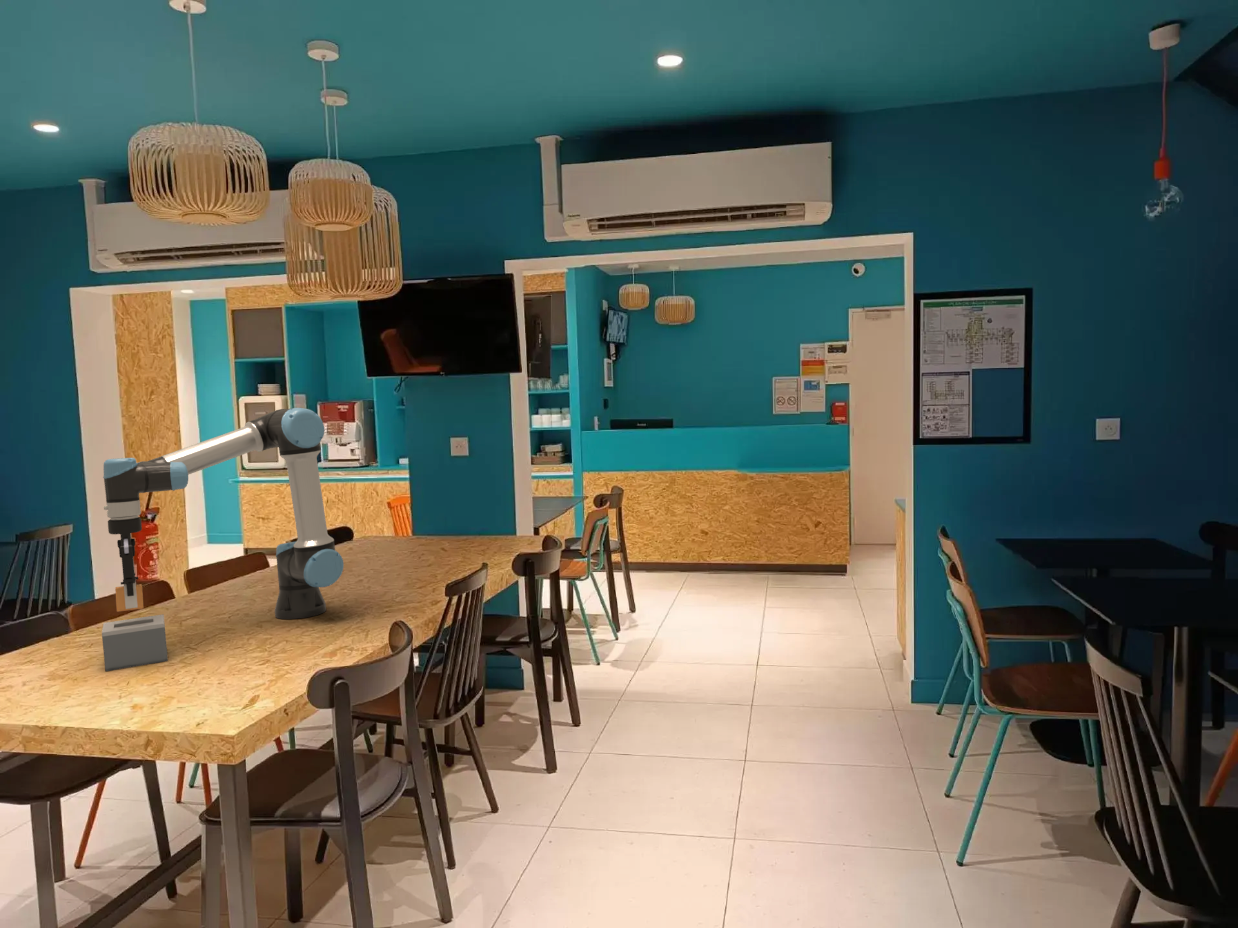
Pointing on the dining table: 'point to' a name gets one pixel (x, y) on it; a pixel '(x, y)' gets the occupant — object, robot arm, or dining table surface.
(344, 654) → the dining table surface
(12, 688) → the dining table surface
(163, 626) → the box with rectangular hole
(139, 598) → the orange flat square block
